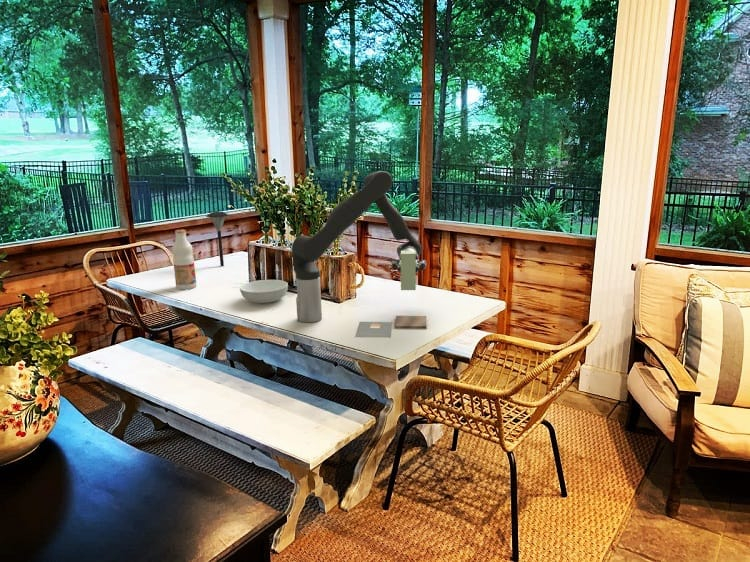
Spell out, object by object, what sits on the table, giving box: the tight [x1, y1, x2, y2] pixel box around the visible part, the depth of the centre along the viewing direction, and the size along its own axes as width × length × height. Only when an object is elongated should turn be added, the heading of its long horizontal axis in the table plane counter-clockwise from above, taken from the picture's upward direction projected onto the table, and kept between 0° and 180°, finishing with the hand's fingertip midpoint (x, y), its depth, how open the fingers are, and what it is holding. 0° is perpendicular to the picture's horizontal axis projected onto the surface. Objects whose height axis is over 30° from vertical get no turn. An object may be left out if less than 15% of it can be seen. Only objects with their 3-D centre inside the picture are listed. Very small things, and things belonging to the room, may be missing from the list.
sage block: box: [400, 250, 417, 291], centre depth 213 cm, size 6×6×14 cm
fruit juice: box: [171, 229, 197, 290], centre depth 271 cm, size 9×9×28 cm
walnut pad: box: [394, 315, 428, 330], centre depth 219 cm, size 12×12×1 cm
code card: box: [354, 321, 393, 339], centre depth 213 cm, size 13×17×1 cm
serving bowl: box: [239, 279, 289, 304], centre depth 251 cm, size 21×21×7 cm
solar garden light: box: [206, 211, 230, 267], centre depth 311 cm, size 12×12×30 cm
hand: (408, 269), depth 211 cm, fingers closed on sage block, 5 cm apart
